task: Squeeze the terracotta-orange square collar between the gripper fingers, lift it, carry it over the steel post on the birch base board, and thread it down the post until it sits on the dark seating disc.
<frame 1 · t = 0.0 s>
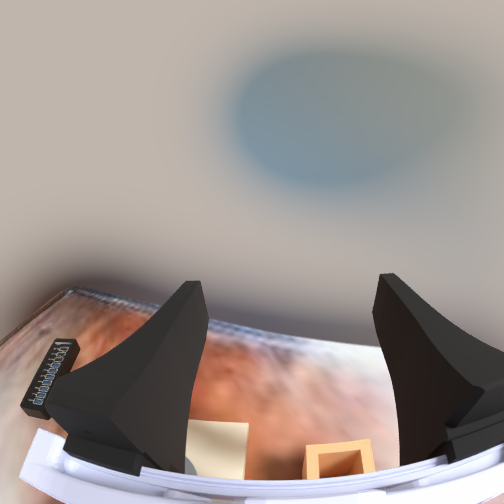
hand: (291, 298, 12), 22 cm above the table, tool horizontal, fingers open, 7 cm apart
multiport hub: (56, 382, 34), on the table
collar: (330, 491, 20), on the table
post board: (160, 483, 22), on the table
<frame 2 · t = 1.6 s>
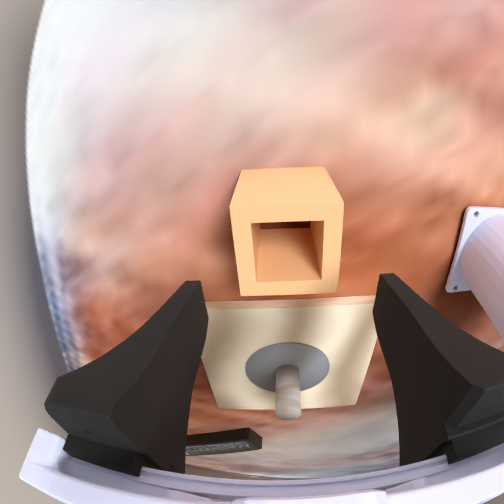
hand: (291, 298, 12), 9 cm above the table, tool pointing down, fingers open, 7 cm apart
multiport hub: (214, 435, 40), on the table
collar: (284, 205, 20), on the table
post board: (287, 361, 28), on the table
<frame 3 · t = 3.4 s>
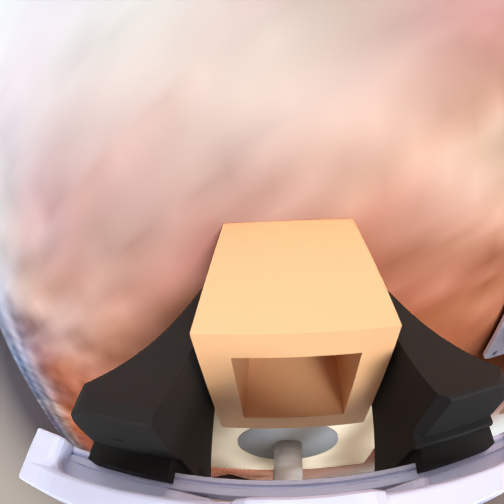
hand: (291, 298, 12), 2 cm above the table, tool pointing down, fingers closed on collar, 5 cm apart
collar: (289, 274, 13), on the table, touching gripper
post board: (288, 432, 22), on the table
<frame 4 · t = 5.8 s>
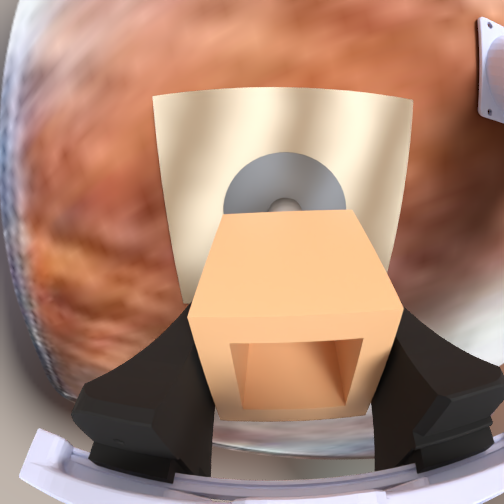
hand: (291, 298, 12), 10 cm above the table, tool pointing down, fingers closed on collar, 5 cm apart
collar: (289, 266, 13), point 8 cm above the table, touching gripper
post board: (284, 206, 21), on the table
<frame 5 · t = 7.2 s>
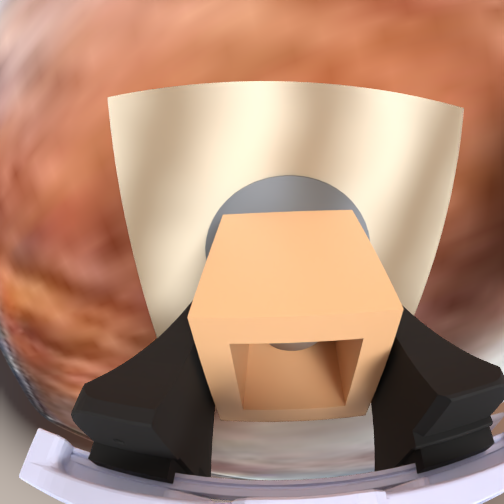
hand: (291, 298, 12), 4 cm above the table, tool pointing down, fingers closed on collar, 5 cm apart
collar: (289, 266, 13), point 2 cm above the table, touching gripper
post board: (287, 245, 16), on the table
when the fingers open (4 cm above the table, at t = 8.5 s): collar drops 1 cm, resting on post board.
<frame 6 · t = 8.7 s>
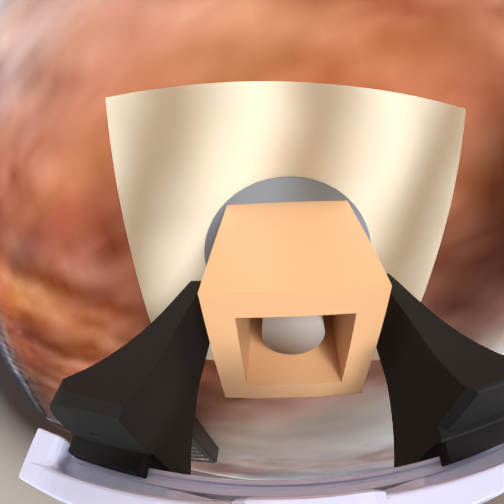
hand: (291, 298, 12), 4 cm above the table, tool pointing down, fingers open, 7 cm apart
multiport hub: (181, 418, 27), on the table
collar: (289, 254, 14), point 1 cm above the table, touching post board
post board: (287, 247, 15), on the table
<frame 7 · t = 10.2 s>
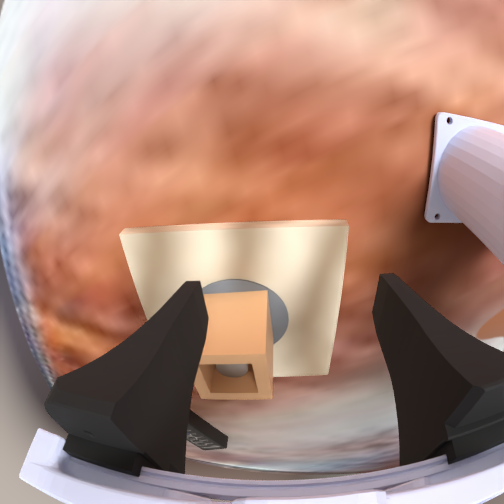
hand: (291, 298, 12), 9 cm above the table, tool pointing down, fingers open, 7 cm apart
multiport hub: (188, 415, 37), on the table
collar: (237, 318, 24), point 1 cm above the table, touching post board
post board: (239, 310, 25), on the table
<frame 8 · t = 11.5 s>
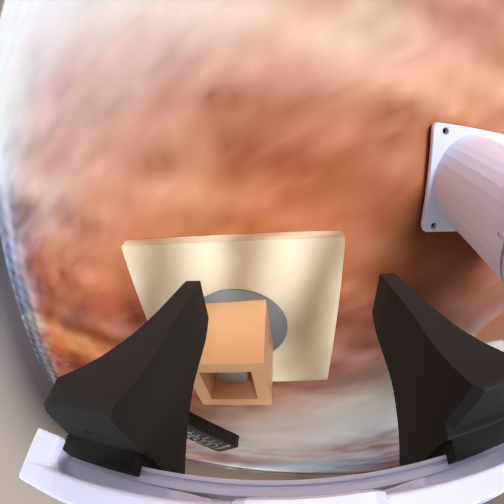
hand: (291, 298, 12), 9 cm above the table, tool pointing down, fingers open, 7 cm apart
multiport hub: (192, 417, 37), on the table
collar: (237, 326, 24), point 1 cm above the table, touching post board
post board: (239, 318, 26), on the table
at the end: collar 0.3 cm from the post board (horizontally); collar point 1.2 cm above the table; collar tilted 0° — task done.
